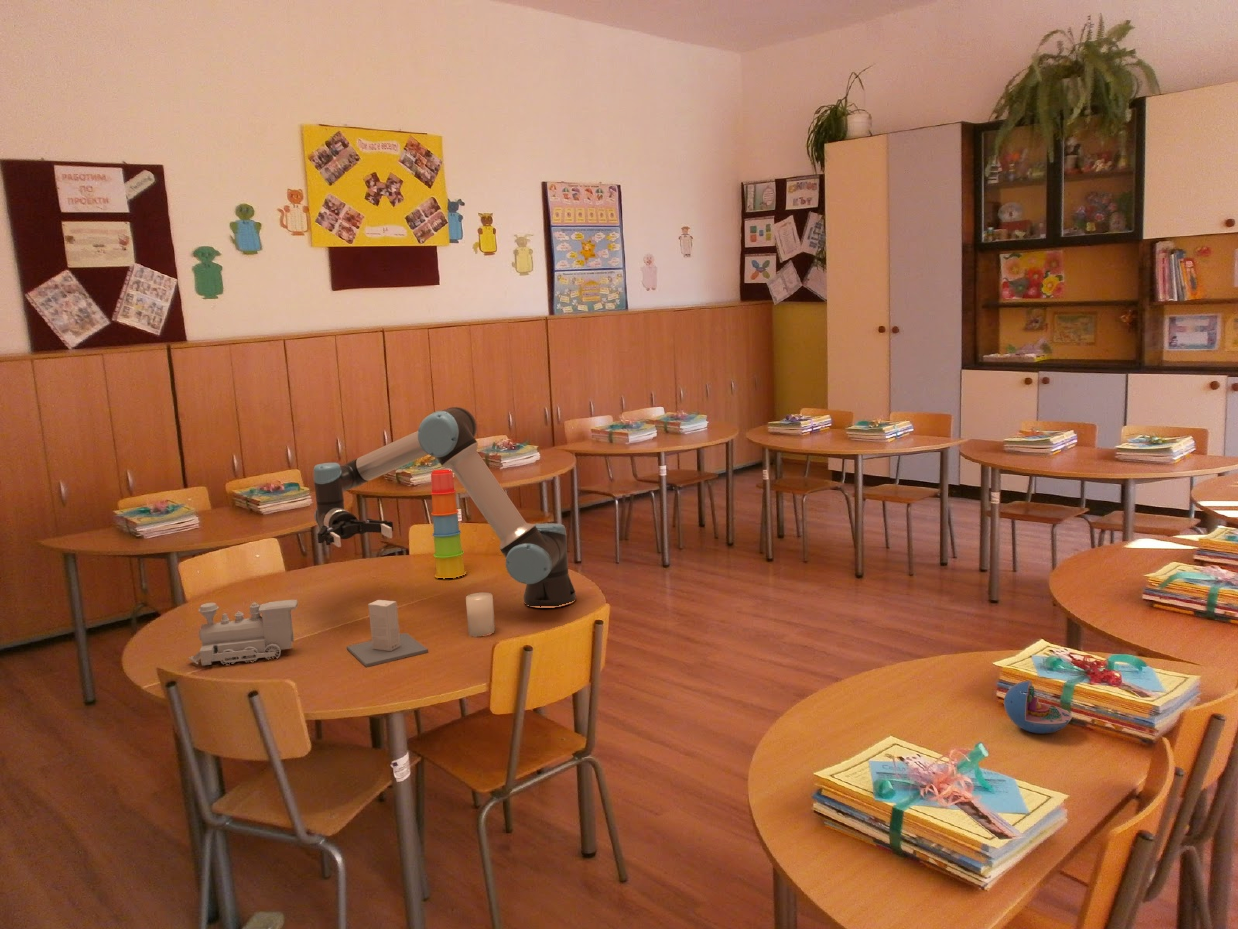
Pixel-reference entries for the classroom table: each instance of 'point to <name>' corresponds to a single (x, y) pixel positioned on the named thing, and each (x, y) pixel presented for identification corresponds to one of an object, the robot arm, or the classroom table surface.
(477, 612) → the white pillar candle
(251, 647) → the toy train
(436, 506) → the stacking cups
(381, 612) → the skincare box
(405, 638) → the felt mat
